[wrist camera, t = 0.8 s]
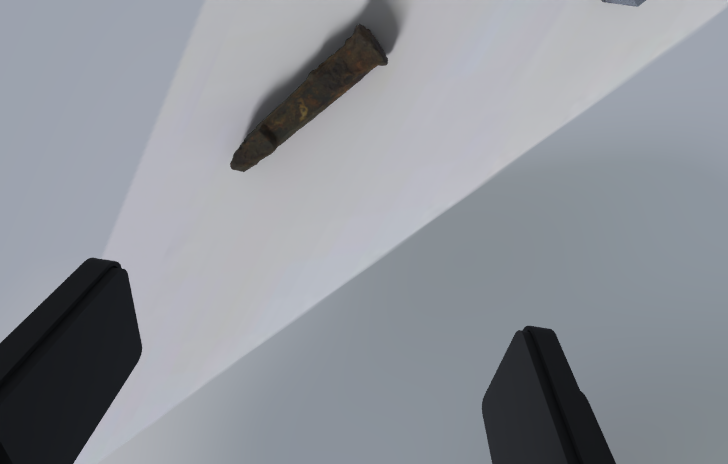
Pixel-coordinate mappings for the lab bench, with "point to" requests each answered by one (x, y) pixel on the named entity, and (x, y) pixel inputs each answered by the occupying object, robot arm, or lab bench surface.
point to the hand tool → (312, 97)
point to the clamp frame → (626, 2)
